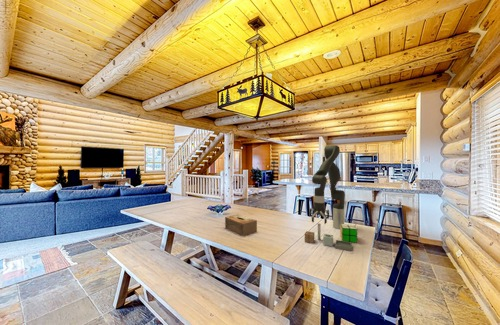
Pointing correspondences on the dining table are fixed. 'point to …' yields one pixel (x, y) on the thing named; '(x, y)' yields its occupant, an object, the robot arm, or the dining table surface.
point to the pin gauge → (319, 230)
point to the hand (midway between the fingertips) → (319, 222)
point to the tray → (343, 245)
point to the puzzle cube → (348, 233)
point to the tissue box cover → (241, 224)
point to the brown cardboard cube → (309, 237)
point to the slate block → (328, 240)
